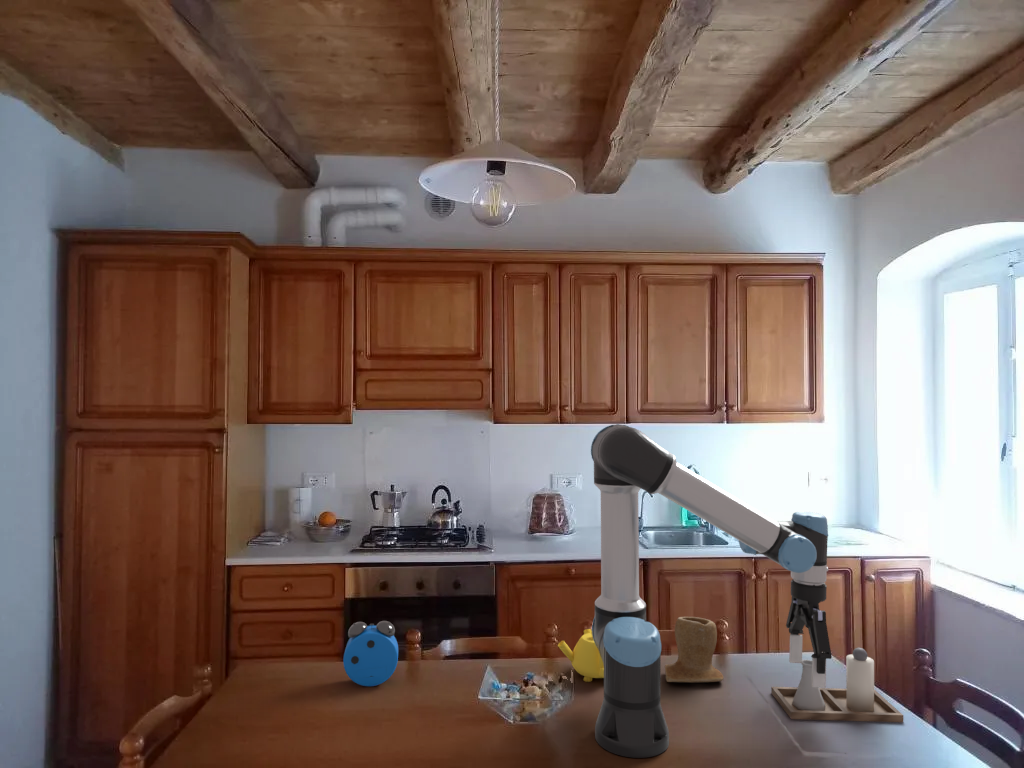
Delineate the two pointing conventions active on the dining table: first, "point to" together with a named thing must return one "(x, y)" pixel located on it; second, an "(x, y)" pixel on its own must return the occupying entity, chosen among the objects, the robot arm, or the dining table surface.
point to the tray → (836, 707)
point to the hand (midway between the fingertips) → (806, 674)
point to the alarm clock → (371, 653)
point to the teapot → (585, 657)
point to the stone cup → (694, 652)
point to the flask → (808, 691)
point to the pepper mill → (860, 681)
